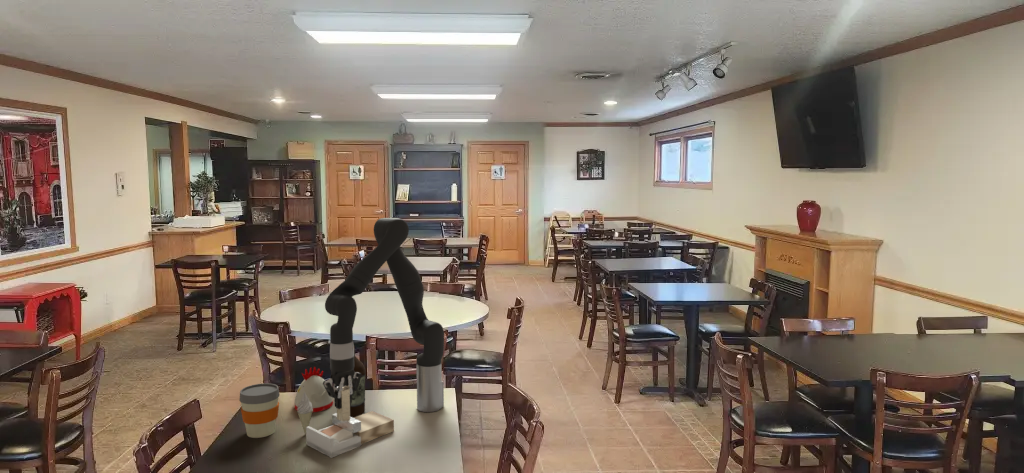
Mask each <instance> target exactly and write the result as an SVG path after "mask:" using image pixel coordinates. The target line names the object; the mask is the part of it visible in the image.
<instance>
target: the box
mask: <svg viewBox="0 0 1024 473" xmlns="http://www.w3.org/2000/svg"><path fill="white" fill-rule="evenodd" d="M333 425H334V424H332V425H329V426H327V427H326V426H325V427H324V428H320V429H318V430H317V429H316V428H315V427H312V426H310V425H309V426H308V427H306V436H305V437H306V446H308V447H310V448H312V449H313V450H315V451H318V452H319V453H321V454H323V455H325V456H327V457H329V458H330V459H331V458H334V457H337V456H340V455H342V454H344V453H345V454H346V453H348V452H349V451H352V450H354V449H357V448H360V447H361V446H362V444H361V437H360V436H357V435H355V434H353V433H352V434H353V437H352V438H349V439H346V440H344V441H341V442H338V443H336V444H335V443H334V438H332V437H330V436H328V435H326V434H324V433H322V431H324V430H325V429H327V428H329V427H331V426H333Z"/></svg>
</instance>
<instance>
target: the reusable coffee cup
mask: <svg viewBox="0 0 1024 473" xmlns="http://www.w3.org/2000/svg"><path fill="white" fill-rule="evenodd" d="M280 394H281V393H280V389H279V386H278V385H277V384H275V383H271V382H270V383H265V382H264V383H256V384H251V385H247V386H245V387H243V388H242V389H240V392H239V399H238V400H239V402H240V404H241V405H240V406H241V407H240V412H241V418H242V422H243V423H244V426H245V430H246V432H245V433H246V436H247V437H249V438H253V439H258V438H260V439H261V438H264V437H268V436H271V435H272V434H275V432H276V427H277V425H276V423H277V418H278V416H279V409H280V408H279V407H280V402H279V397H280Z"/></svg>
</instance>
